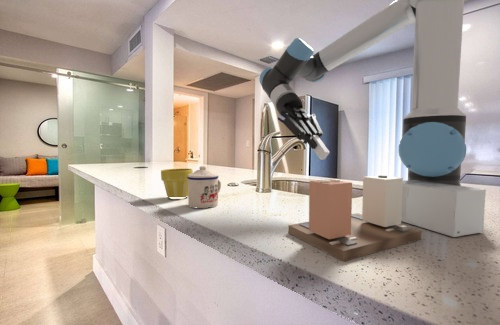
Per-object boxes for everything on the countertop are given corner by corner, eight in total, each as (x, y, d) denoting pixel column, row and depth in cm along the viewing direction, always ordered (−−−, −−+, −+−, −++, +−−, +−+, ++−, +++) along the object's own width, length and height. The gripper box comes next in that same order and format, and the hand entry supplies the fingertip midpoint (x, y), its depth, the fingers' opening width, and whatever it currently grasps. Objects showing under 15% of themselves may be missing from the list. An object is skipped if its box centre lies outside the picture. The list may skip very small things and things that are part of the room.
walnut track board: (357, 219, 59) (358, 212, 59) (421, 239, 46) (421, 229, 46) (288, 232, 50) (288, 224, 50) (343, 261, 37) (343, 249, 37)
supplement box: (413, 214, 63) (484, 234, 49) (386, 217, 61) (453, 239, 46) (415, 179, 63) (488, 188, 49) (388, 180, 60) (456, 191, 46)
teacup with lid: (203, 210, 68) (202, 168, 67) (181, 206, 73) (180, 166, 72) (231, 202, 77) (230, 165, 77) (209, 199, 83) (209, 164, 82)
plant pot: (155, 198, 84) (154, 169, 83) (179, 194, 92) (179, 167, 92) (175, 202, 78) (174, 171, 77) (199, 197, 86) (199, 169, 86)
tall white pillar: (378, 217, 54) (379, 174, 53) (401, 223, 49) (402, 176, 49) (362, 220, 51) (363, 175, 51) (384, 227, 47) (386, 177, 46)
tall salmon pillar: (329, 226, 47) (330, 177, 47) (350, 234, 43) (352, 180, 42) (308, 230, 45) (309, 179, 44) (329, 239, 41) (330, 182, 40)
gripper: (297, 112, 84) (335, 164, 70) (264, 110, 78) (298, 166, 64) (308, 93, 79) (351, 145, 65) (273, 89, 73) (312, 145, 59)
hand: (325, 155), depth 64 cm, fingers closed
